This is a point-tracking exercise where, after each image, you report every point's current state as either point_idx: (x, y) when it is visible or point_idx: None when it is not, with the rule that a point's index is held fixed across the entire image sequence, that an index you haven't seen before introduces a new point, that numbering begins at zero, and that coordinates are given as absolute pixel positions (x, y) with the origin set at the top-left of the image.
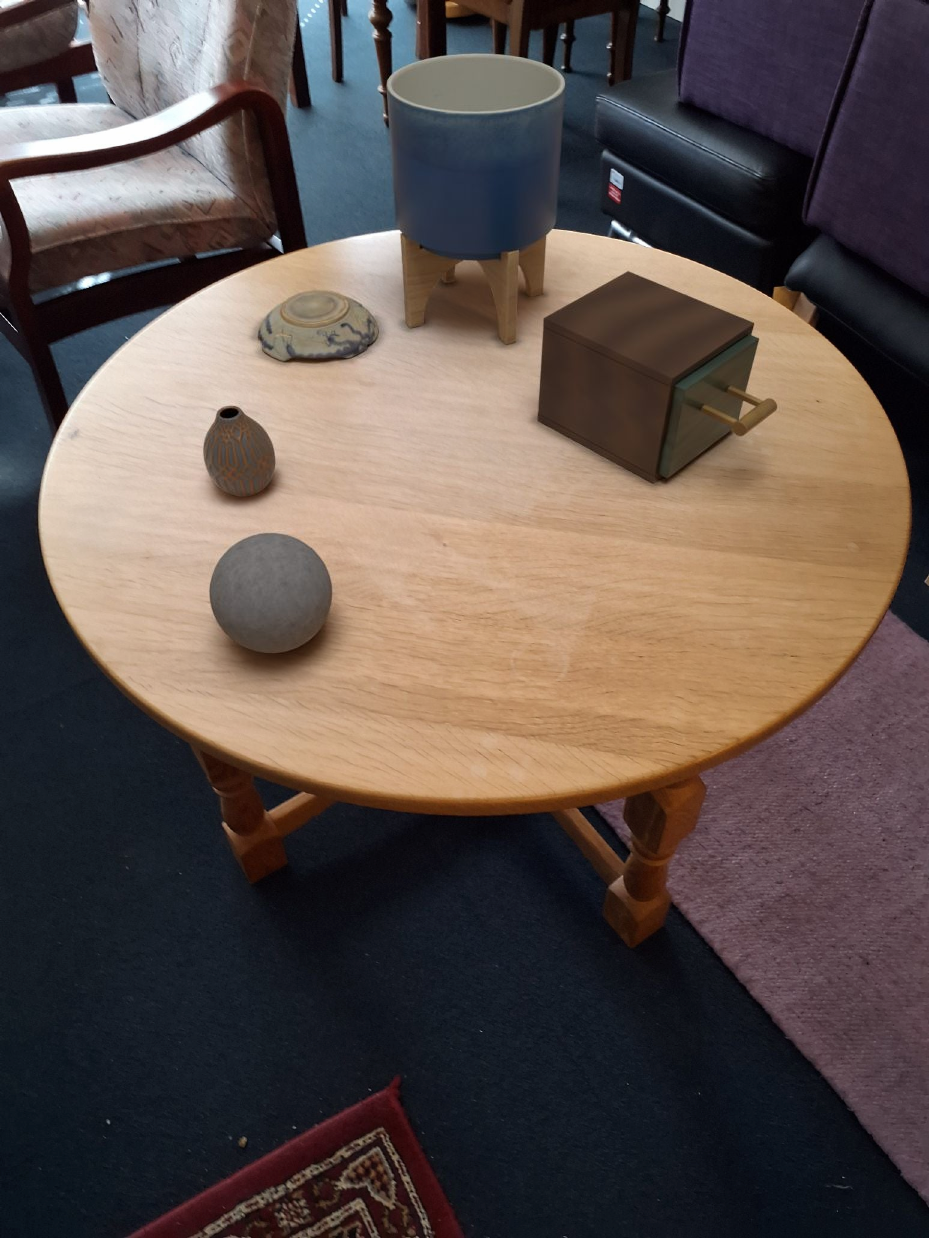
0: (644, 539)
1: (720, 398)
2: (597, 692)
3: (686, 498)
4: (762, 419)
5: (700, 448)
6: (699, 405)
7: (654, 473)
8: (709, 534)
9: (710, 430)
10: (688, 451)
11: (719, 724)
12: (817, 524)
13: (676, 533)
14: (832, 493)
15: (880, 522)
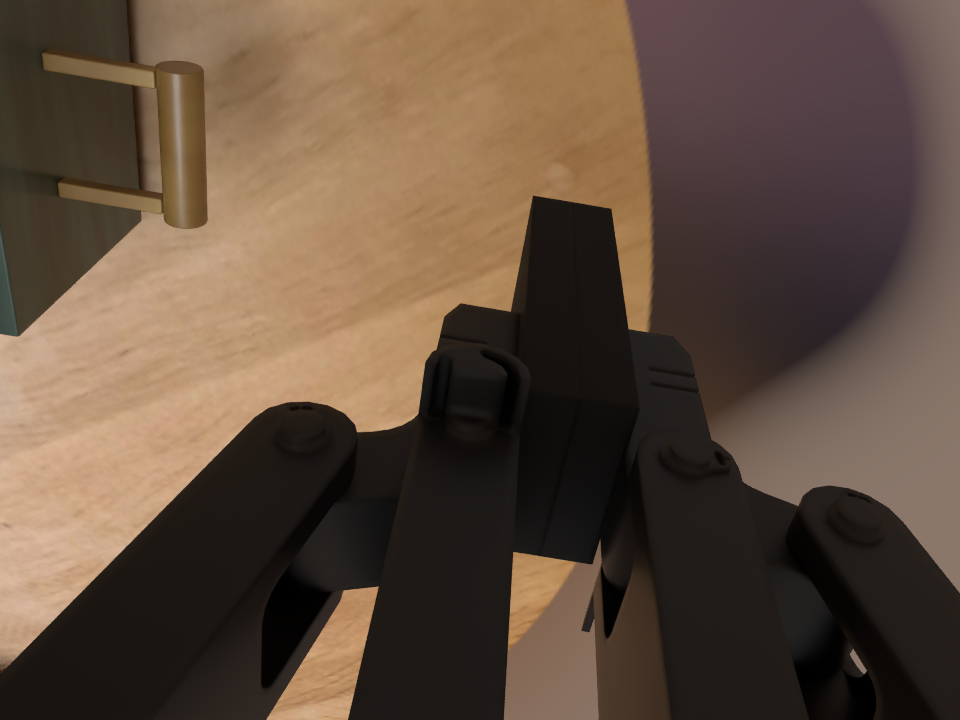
0: (224, 367)
1: (57, 93)
2: (363, 625)
3: (207, 224)
4: (204, 148)
5: (125, 103)
6: (55, 212)
7: None
8: (306, 296)
9: (105, 83)
10: (120, 167)
11: (517, 601)
12: (469, 148)
13: (257, 325)
14: (454, 13)
15: (589, 56)
